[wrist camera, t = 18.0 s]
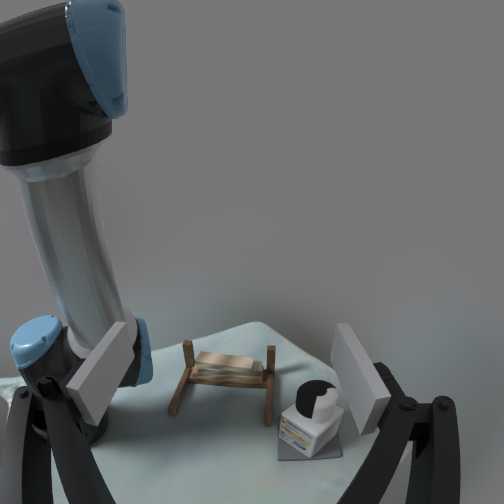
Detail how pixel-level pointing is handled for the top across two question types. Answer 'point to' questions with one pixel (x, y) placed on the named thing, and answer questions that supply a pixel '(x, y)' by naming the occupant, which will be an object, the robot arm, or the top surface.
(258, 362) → the offcut stack
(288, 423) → the container
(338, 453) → the rubber mat
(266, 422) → the walnut rack
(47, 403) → the robot arm
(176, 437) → the top surface
